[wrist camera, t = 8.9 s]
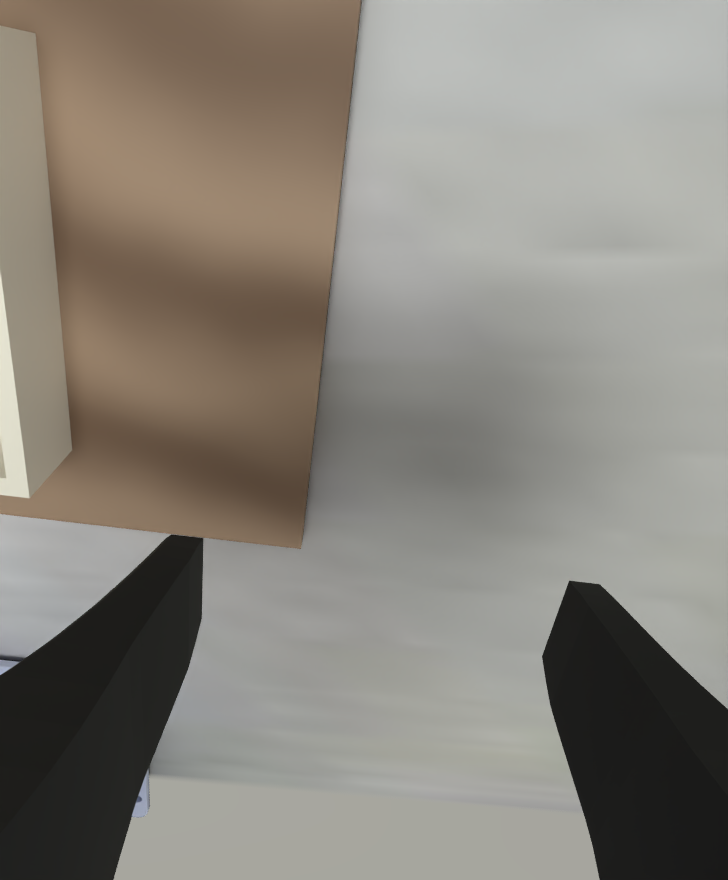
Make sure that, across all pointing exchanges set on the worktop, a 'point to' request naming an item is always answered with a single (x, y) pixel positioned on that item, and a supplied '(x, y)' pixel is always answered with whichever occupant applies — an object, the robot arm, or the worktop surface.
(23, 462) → the cream square tray
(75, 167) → the board
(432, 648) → the worktop surface
